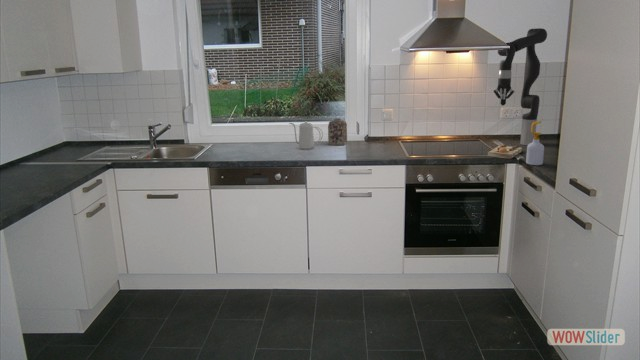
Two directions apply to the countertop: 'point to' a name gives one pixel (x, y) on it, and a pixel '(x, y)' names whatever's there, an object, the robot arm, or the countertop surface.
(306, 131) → the coffeepot
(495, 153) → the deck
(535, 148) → the soap bottle
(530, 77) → the robot arm
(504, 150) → the ball
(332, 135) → the decorative jar
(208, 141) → the countertop surface
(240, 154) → the countertop surface
